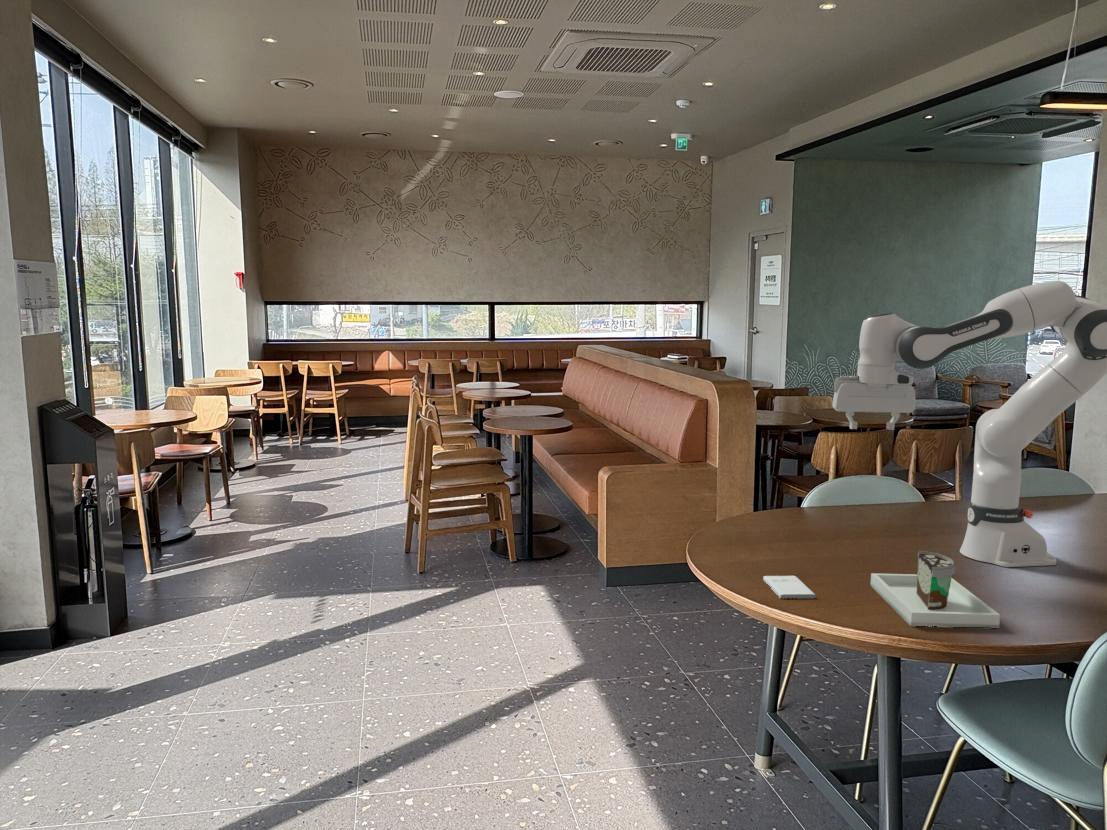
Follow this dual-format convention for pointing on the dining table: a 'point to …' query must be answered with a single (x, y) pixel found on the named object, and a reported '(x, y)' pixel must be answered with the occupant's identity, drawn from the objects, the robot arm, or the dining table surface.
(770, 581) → the external hard drive
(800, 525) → the dining table surface
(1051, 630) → the dining table surface
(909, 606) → the tray
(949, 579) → the food container
